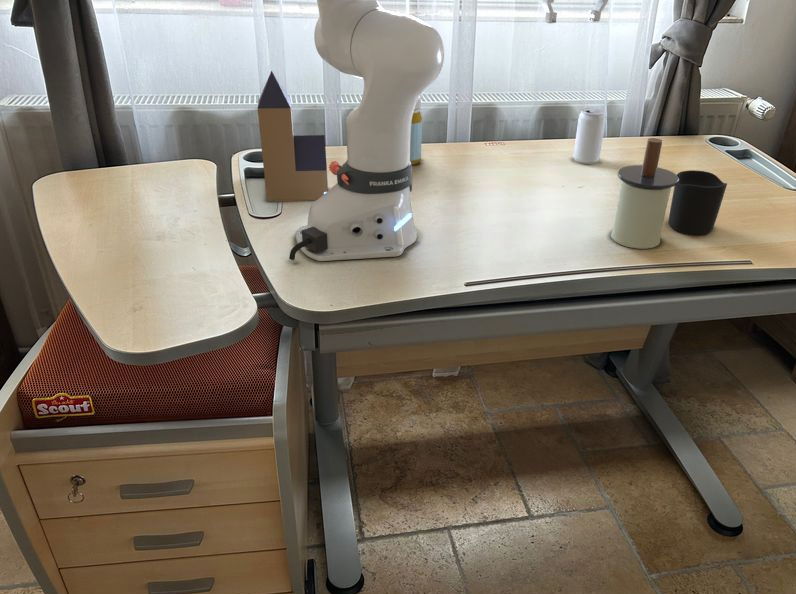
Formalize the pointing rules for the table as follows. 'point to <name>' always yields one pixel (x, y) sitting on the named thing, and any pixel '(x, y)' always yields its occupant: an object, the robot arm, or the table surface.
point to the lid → (649, 170)
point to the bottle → (416, 135)
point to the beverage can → (589, 135)
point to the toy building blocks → (288, 150)
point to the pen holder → (696, 202)
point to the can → (640, 216)
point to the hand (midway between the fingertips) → (572, 22)
